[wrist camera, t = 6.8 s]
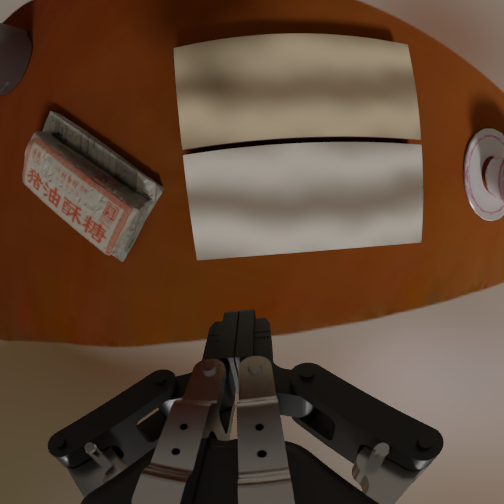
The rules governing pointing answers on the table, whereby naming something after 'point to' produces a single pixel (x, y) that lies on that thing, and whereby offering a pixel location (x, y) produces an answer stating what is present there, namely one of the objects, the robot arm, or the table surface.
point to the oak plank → (294, 89)
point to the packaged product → (89, 185)
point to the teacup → (496, 175)
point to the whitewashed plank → (304, 197)
